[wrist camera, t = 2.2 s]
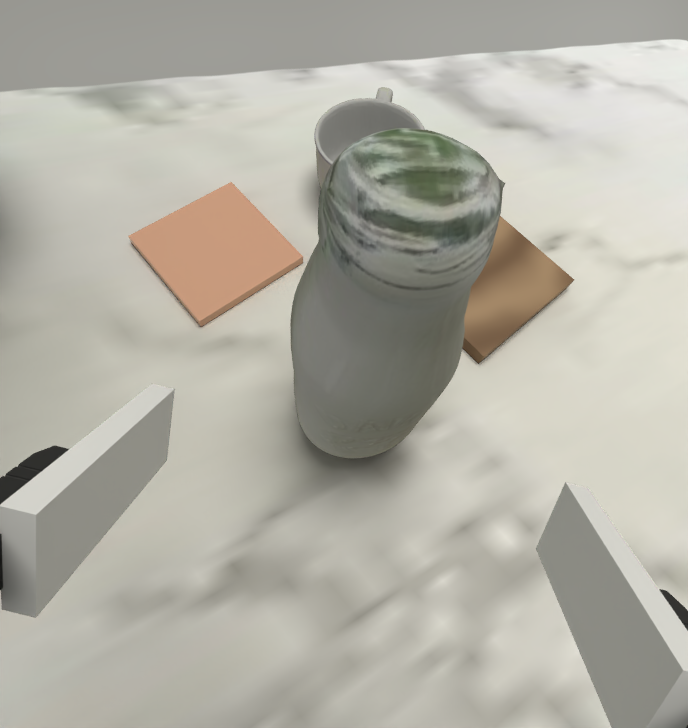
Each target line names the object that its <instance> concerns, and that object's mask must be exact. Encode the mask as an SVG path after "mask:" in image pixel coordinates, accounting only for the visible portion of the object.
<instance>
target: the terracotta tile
mask: <svg viewBox="0 0 688 728" xmlns="http://www.w3.org/2000/svg"><path fill="white" fill-rule="evenodd" d="M128 237H129V239H130V241H131V243H132V244H133V245H134V246H135V248H136V249H137V250H138V251H139V253H140V254H141V255H142V256H143V257H144V259H145V260H146V261H147V262H148V263H149V265H150V266H151V267H152V268H153V269H154V271H155V272H156V273H157V274H158V275H159V277H160V278H161V279H162V280H163V282H164V283H165V284H166V285H167V286H168V288H169V289H170V290H171V291H172V292H173V294H174V295H175V296H176V297H177V298H178V300H179V301H180V302H181V303H182V304H183V306H184V307H185V308H186V309H187V310H188V312H189V313H190V314H191V315H192V317H193V318H194V319H195V320H196V321H197V323H198V324H199V325H200V326H201V327H202V326H203V325H205V324H207V323H208V322H210V321H211V320H213V319H215V318H216V317H218V316H219V315H221V314H222V313H224V312H226V311H227V310H229V309H230V308H232V307H234V306H235V305H237V304H238V303H240V302H241V301H243V300H245V299H246V298H248V297H249V296H251V295H253V294H254V293H256V292H257V291H259V290H260V289H262V288H264V287H265V286H267V285H268V284H270V283H272V282H273V281H275V280H276V279H278V278H279V277H281V276H283V275H284V274H286V273H287V272H289V271H291V270H292V269H294V268H295V267H297V266H298V265H300V264H302V263H303V256H302V255H301V254H300V253H299V252H298V251H297V250H296V249H295V248H294V247H293V246H292V245H291V244H290V243H289V242H288V241H287V240H286V239H285V237H284V236H283V235H282V234H281V233H280V232H279V231H278V230H277V229H276V228H275V227H274V226H273V225H272V224H271V223H270V222H269V221H268V220H267V219H266V218H265V217H264V216H263V215H262V214H261V212H260V211H259V210H258V209H257V208H256V207H255V206H254V205H253V204H252V203H251V202H250V201H249V200H248V199H247V198H246V197H245V196H244V195H243V194H242V193H241V192H240V191H239V190H238V188H237V187H236V186H235V185H234V184H233V183H232V182H230V183H228V184H227V185H225V186H223V187H221V188H219V189H217V190H215V191H213V192H211V193H209V194H207V195H206V196H204V197H202V198H200V199H198V200H196V201H194V202H192V203H190V204H188V205H187V206H185V207H183V208H181V209H179V210H177V211H175V212H173V213H171V214H169V215H168V216H166V217H164V218H162V219H160V220H158V221H156V222H154V223H152V224H150V225H148V226H147V227H145V228H143V229H141V230H139V231H137V232H135V233H133V234H131V235H129V236H128Z"/></svg>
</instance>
